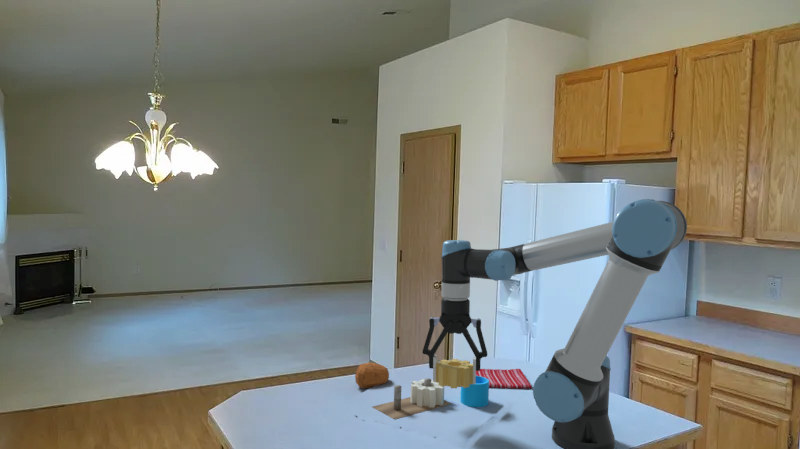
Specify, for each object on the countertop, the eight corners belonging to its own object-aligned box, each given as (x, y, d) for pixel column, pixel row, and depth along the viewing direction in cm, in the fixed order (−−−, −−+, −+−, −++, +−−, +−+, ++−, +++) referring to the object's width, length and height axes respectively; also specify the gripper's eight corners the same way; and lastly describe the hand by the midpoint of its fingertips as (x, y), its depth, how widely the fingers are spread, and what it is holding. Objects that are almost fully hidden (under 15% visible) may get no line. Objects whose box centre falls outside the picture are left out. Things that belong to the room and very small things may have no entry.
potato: (351, 383, 181) (352, 360, 181) (384, 380, 184) (385, 358, 184) (358, 392, 172) (358, 368, 172) (392, 389, 175) (393, 366, 175)
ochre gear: (480, 383, 146) (480, 365, 146) (453, 390, 140) (453, 371, 140) (455, 374, 154) (455, 356, 154) (428, 381, 148) (428, 362, 148)
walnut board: (452, 408, 160) (453, 381, 160) (394, 424, 148) (395, 395, 147) (427, 397, 169) (428, 371, 169) (371, 411, 156) (372, 384, 156)
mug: (490, 412, 158) (491, 384, 158) (462, 412, 158) (462, 384, 158) (483, 398, 170) (484, 371, 170) (457, 397, 170) (458, 371, 170)
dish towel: (455, 372, 197) (455, 365, 197) (522, 374, 196) (522, 367, 196) (459, 388, 180) (459, 380, 180) (532, 391, 179) (532, 383, 179)
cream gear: (449, 399, 163) (450, 383, 163) (434, 410, 155) (435, 392, 155) (420, 393, 168) (420, 377, 168) (404, 403, 160) (404, 386, 160)
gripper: (497, 297, 149) (496, 379, 150) (415, 294, 152) (414, 375, 153) (498, 301, 142) (497, 388, 142) (412, 299, 144) (411, 383, 145)
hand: (454, 381), depth 147 cm, fingers closed on ochre gear, 10 cm apart
